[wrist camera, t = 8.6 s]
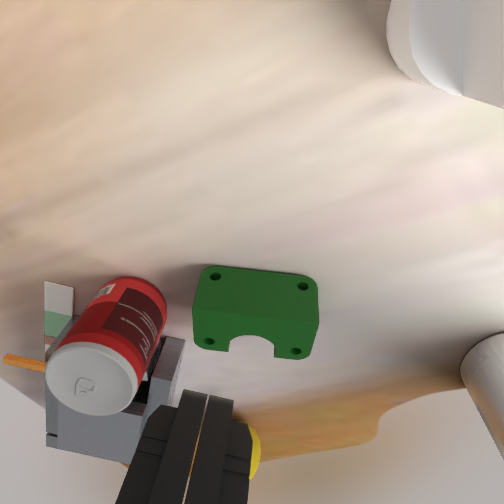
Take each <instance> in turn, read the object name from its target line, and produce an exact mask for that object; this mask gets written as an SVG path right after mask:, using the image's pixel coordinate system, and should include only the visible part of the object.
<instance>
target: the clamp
mask: <svg viewBox="0 0 504 504" xmlns="http://www.w3.org/2000/svg"><path fill="white" fill-rule="evenodd" d="M192 315H193V334H194V342H195V344H196V345H198V346H199V347H201V348H203V349H207V350H216V351H224V352H228V350H229V344H230V340H232V339H233V338H235V337H238V336H242V335H255V336H260V337H263V338H265V339H267V340H269V341H270V342H272V343H273V344H274V357H276V358H285V359H294V360H300V359H304V358H306V357H308V356H309V355H310V353H311V349H312V346H313V343H314V339H315V336H316V332H317V329H318V325H319V308H318V287H317V284H316V282H315V281H314V280H313V279H311V278H309V277H307V276H301V275H292V274H283V273H274V272H265V271H256V270H247V269H238V268H229V267H220V266H212V267H208V268H206V269H205V270H204V271H203V272H202V273H201V276H200V280H199V284H198V288H197V292H196V296H195V300H194V303H193V307H192Z"/></svg>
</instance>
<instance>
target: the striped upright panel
mask: <svg viewBox="0 0 504 504" xmlns="http://www.w3.org/2000/svg"><path fill="white" fill-rule="evenodd" d="M73 306H74V288H73V287H69V286H65V285H60V284H56V283H52V282H48V281H45V282H44V344H45V352H46V351H47V349H48V348H49V347H50V346H51V344H52V343H53V342H54V340H55V339H56V338H57V336H58V335H59V334H60V332H61V331H62V330H63V329H64V327H65V326H66V325H67V323H68V322H69V321H70V319H71V318H72V317H73Z"/></svg>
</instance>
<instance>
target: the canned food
mask: <svg viewBox="0 0 504 504" xmlns="http://www.w3.org/2000/svg"><path fill="white" fill-rule="evenodd" d="M166 319H167V306H166V302H165V299H164V297H163V295H162V294H161V292H160V291H159V290H158V289H157V288H156V287H155V286H154V285H152V284H151V283H149V282H147V281H145V280H143V279H140V278H136V277H121V278H117V279H115V280H113V281H111V282H109V283H107V284H106V285H104V286H103V287H102V288H101V289H100V290H99V292H98V293H97V294H96V296H95V297H94V298H93V300H92V301H91V302H90V304H89V305H88V306H87V308H86V309H85V310H84V312H83V313H82V314H81V316H80V317H79V318H78V320H77V321H76V322H75V324H74V325H73V326H72V328H71V329H70V330H69V332H68V333H67V334H66V336H65V337H64V338H63V340H62V341H61V342H60V344H59V345H58V347H57V348H56V350H55V351H54V352H53V354H52V355H51V357H50V358H49V361H48V362H47V364H46V367H45V374H44V376H45V381H46V384H47V386H48V388H49V390H50V391H51V393H52V394H53V395H54V396H55V397H56V398H57V399H58V400H59V401H60V402H61V403H63V404H64V405H65V406H67V407H69V408H71V409H73V410H75V411H78V412H80V413H84V414H88V415H95V416H105V415H111V414H115V413H118V412H120V411H122V410H123V409H125V408H126V407H127V406H128V405H129V404H130V403H131V401H132V399H133V398H134V396H135V394H136V392H137V390H138V388H139V385H140V383H141V381H142V379H143V376H144V374H145V371H146V369H147V367H148V364H149V362H150V359H151V357H152V354H153V352H154V350H155V347H156V345H157V342H158V340H159V337H160V335H161V333H162V330H163V328H164V325H165V323H166Z"/></svg>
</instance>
